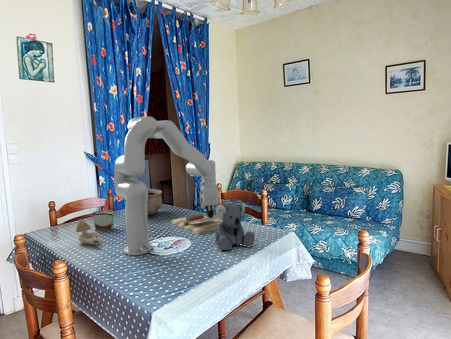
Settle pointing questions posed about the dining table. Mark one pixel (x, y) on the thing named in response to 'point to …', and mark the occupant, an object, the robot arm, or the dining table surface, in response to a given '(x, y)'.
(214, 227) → the tile stand
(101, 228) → the food container
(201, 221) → the tile
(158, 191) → the ceramic bowl
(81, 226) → the oil lamp
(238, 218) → the koala plush
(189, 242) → the dining table surface
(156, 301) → the dining table surface
